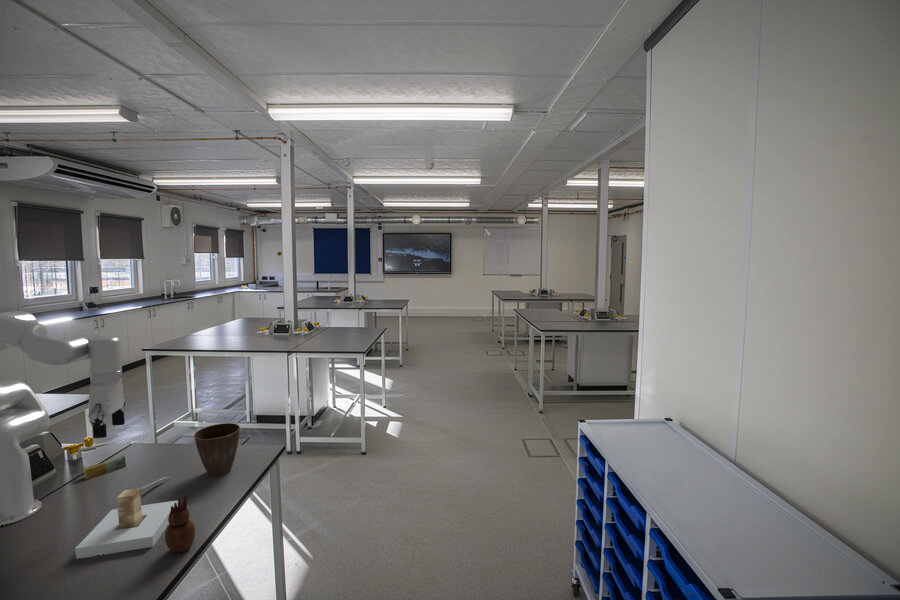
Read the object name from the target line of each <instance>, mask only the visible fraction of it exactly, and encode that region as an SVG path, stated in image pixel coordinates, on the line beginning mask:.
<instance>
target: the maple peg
mask: <svg viewBox="0 0 900 600" xmlns="http://www.w3.org/2000/svg"><path fill="white" fill-rule="evenodd" d="M138 488H139V489H137V488H133V489H124V490H123V491H122V492H121V493H120V494H119V495H118V496H117V497H116V505H117V508H116V509H118V518H119V529H127V528H134V527H138V526H139V525H140V524H141V522H142V521H143V520H142V509H141V505H142V500H141V498H142V497H141V496H140V488H141V487H138Z"/></svg>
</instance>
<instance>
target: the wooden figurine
mask: <svg viewBox="0 0 900 600" xmlns="http://www.w3.org/2000/svg"><path fill="white" fill-rule="evenodd" d="M177 500H178V507H177V504H176V502H175V503H174V507H173V506H171V511H170V514H169V517H168V522H169V524H168V526H167V527H166V529H165V533H164V541H165V543H166V547H167V549H168V550H169V551H170V552H171V553H175V554H177V553H178V554H179V553H184V552H185V551H187V550H189V549H190V548H191V547H192V546H193V543H194V541H195V537H196V526H195V523H194V521H192V520H191V519H190V514H191V513H190V511H189V509H188V508H187V507H188V506H187V505H188V503H187V495H186V494H185V495H184V498H183V501H181V499H180V497H178V499H177Z"/></svg>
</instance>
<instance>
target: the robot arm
mask: <svg viewBox="0 0 900 600" xmlns="http://www.w3.org/2000/svg"><path fill="white" fill-rule="evenodd" d="M48 335H49V333H48V329H47V327H46V326H45V325H44V324H42V323H39V321H38V319H37V318H36V317H35V315H34V314H32V313H30V312H28V311H24V310H14V311H5V312H0V353H1V352H4V351H6V350H8V349H10V348H14V349H19V350H21V352H22V353H23V354H24V355H25V356H26V357H27V358H28V359H29V360H31V361H34V362H38V363H42V364H46V365H52V366H66V365H70V364H73V363H76V362H77V363H79V362H81V361H84V360H85V361H86V360H88V361H89V378H90V388H89V393H88V415H87V417H88V420H89V423H90V424H91V427H92V438H93V439H103V438H107V435H108V434H107V424H106V423H105V422H106V420H107V418H108V416H111V425H112V426H124V425H125V424H126V423H125V410H126V409H125V405H126V398H127V397H126V395H125V394H124V386H123V368H122V367H123V365H122V345H121V339H120V338H119V337H118V336H113V335H106V336H101V335H97V334H91V333H90V334H80V335H76V336H71V337H66V338H61V339H60V338H59V339H53V338H48ZM39 399H40V398H38V396H37V395H36V394H35V392H34V390H33V389H32V388H31V386H29V385H28V383H25V382H24V381H22V380H18V379H10V380H9V379H8V380H4V381H0V414H3V413H5V412H9V413H8V414H7V415H3V416H0V527H2V526H1V525H3V526H7V525H10V523H11V524H13V523H16V522H19V521H22V520H24V519H26V518H28V517H30V516H32V515H34V514H36V513H37V512H38V511H39V510H41V508H42V502H41V501H40V500H37V499H35V498H34V490H33V489H34V488H33V482H32V472H31V463H30V457H29V454H28V452H27V451H26V450H25V449H24V448H23V447H21V446H20V443H23V442H24V441H27V440H29V439H31V438H34V437H36V436H38V435H41V434H43V433H44V432H46V431H47V430H48V428H49V427H50V426H51V425H50V423H51V420H50V419H51V418H50V416H49V413H48V411H47V410H46V409H45V407H44V405H43V404H42V403H41V401H40V400H39ZM6 524H7V525H6Z"/></svg>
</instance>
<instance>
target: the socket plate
mask: <svg viewBox="0 0 900 600" xmlns="http://www.w3.org/2000/svg"><path fill="white" fill-rule="evenodd" d="M175 502H176V504H177V507H178V499H177V500H170V501H164V502H163V501H162V502H157V503H150V504H144V505H143V504H141V509H142V520H143V521H142V522H141V524H140V525H139V526H138V527H134V528H127V529H119V518H118V508H114V509H111V510H110V511H109V512H108V513H107V514H106V515H105V517H103V518H102V519H101V520H100V522H99V523H98V524H97V525H96V526H95V527H94V528H93V529H92V530H91V531H90V532H89V533H88V534H87V535H86V537H85V538H83V540H82V541H81V542H80V543H79V544H78V545H77V546H76V547H75V548H74V550H75V559H76V560H79V558H80V559H85V558H91V557H97V555H99V556H103V554H104V555H110V554H115V553H117V554H118V553H123V552H128V551H134V550H142V549H147V548H153V547H154V546H155V545H156V543H157V542H158V541H159V540H160V538H161V536H162V534H163V533H164V531H166V530H167V527H168V526H169V525H170V524H169V522H168V517H169V514H170V511H171V506H173V507H174V503H175ZM167 525H168V526H167Z"/></svg>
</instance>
